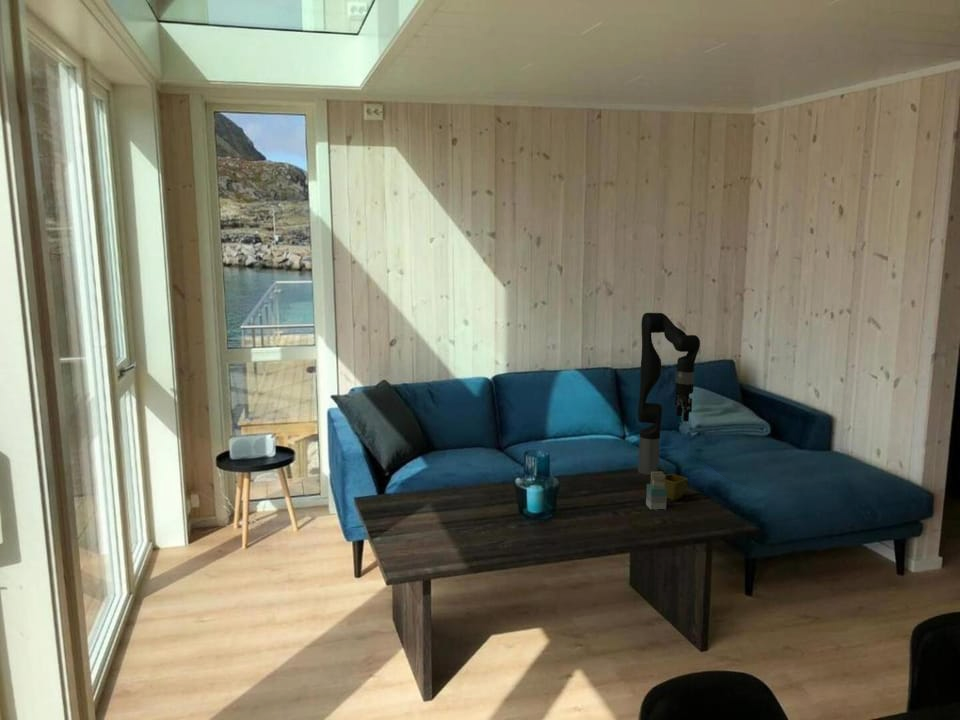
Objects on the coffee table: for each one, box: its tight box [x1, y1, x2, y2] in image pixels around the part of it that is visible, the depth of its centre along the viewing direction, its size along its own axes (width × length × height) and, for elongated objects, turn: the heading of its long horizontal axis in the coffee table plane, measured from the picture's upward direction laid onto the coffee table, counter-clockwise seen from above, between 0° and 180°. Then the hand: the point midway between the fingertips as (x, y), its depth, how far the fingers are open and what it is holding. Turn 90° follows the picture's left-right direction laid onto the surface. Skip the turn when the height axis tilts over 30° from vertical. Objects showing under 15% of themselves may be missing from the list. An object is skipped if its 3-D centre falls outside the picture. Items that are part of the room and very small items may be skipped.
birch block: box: [649, 471, 666, 488], centre depth 315 cm, size 5×5×6 cm
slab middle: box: [646, 491, 668, 504], centre depth 316 cm, size 6×6×3 cm
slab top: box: [646, 483, 667, 496], centre depth 316 cm, size 6×6×3 cm
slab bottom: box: [645, 498, 667, 511], centre depth 317 cm, size 6×6×3 cm
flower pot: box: [665, 473, 688, 501], centre depth 327 cm, size 9×9×9 cm
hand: (682, 418), depth 329 cm, fingers open, 8 cm apart
